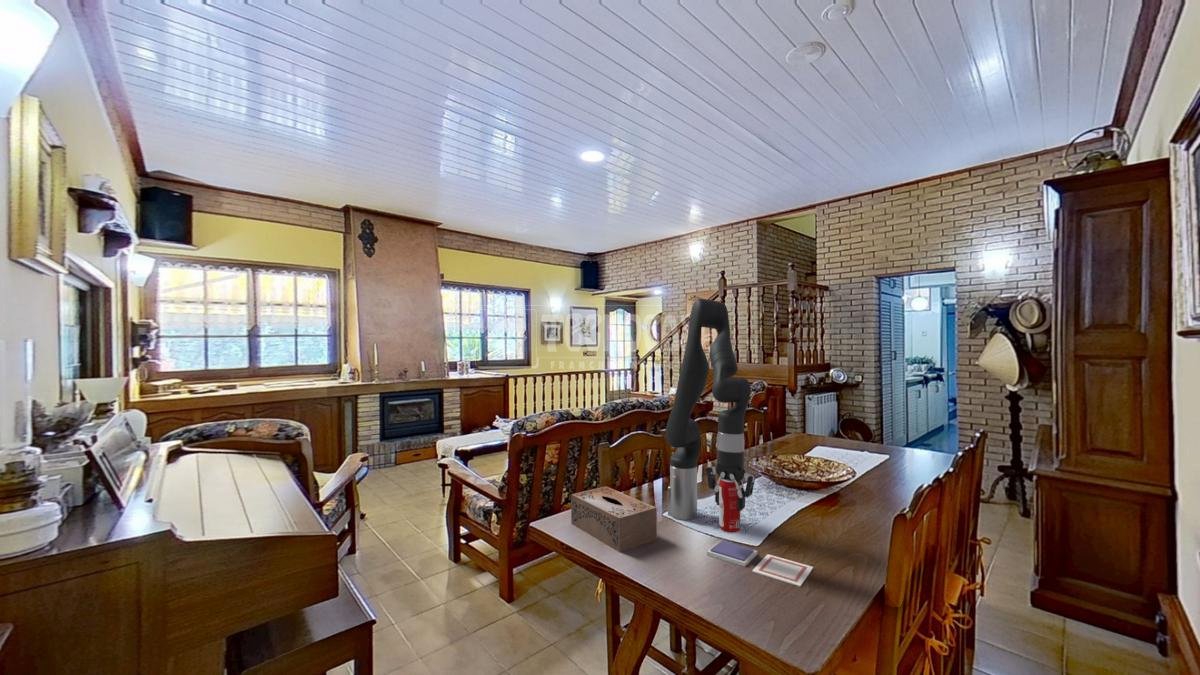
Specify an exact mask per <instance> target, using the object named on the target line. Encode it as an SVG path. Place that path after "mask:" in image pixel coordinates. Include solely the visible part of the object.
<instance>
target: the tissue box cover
mask: <svg viewBox="0 0 1200 675" xmlns="http://www.w3.org/2000/svg"><path fill="white" fill-rule="evenodd" d="M570 507H571V508H570V511H571V512H570V518H571V520H570V524H571V525H573V526H575V527H576V528H577V529H579V530H581V531H583V532H584V533H586V534H587V535H590V536H592V538H595V539H597V540H598V541H600V542H601V543H603V544H604V545H607V546H608V547H609V548H611V549H613V550H615V551H617V553H622V552H625V551H627V550H631V549H633V548H636V547H639V546H643V545H645V544H648V543H650V542H654V541H657V537H658V536H657V535H658V534H657V532H658V531H657V528H658V527H657V524H658V522H657V517H658V516H657V515H658V514H657V507H656V506H654V505H651V504H649V503H646V502H644V501H641V499H640V500H639V499H637V498H634V497H632V496H630V495H628V494H625V493H623V492H621V491H619V490H616V489H614V488H612V487H610V486H606V485H605V486H600V487H598V488H597V487H596V488H593V489H588V490H584V491H579V492H575V493H572V494H570Z"/></svg>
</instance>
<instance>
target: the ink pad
mask: <svg viewBox="0 0 1200 675" xmlns="http://www.w3.org/2000/svg"><path fill="white" fill-rule="evenodd" d="M706 556H709V557H712V558H715V559H719V560H722V561H725V562H728V563H731V564H734V565H739V566H741V567H746V566H747V565H749V564H750V562H751V561H752V560H754V558H755V557H756V556H758V550H755V549H753V548H750V547H746V546H743V545H739V544H735V543H732V542H729V541H725V540H719V541H718V542H717V543H716V544H714V545H713V546H712V547H710V548H709V549H708V550H707V552H706Z"/></svg>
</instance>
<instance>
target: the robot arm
mask: <svg viewBox="0 0 1200 675" xmlns="http://www.w3.org/2000/svg"><path fill="white" fill-rule="evenodd" d="M689 316H690V317H689V323H688V329H687V338H686V339H687V340H686V344H685V350H684V354H683V357H682V358H683V359H682V361H681V366H680V372H679V376H678V383H677V387H676V389H675V390H676V391H675V395H674V399H673V404H672V408H671V411H670V414H669V417H668V420H667V423H666V427H665V439H666V441H667V443H668V444H669V446H670V447H673V448H676V450H675V451H674V452H673V454H671V456H670V458H669V473H670V474H669V478H670V480H669V486H668V487H667V515H668V516H669V515H670V516H671V517H672V518H673V519H677V520H683V521H684V520H685V521H688V520H694V519H696V518H698V460H699V458H700V453H701V452H700V449H701V447H700V446H701V431H700V428H699V424H698V422H696V421H695V420H694V419H693V418H691V414H692V412H693V410H694V407H695V405H696V403H697V402H698V400H699V399H700V397H701V396H702V394H703V392H704V390H705V388H706V386H707V381H708V377H709V372H710V364H709V361H708V358H707V356H706V353H705V350H704V348H703V345H702V338H701V337H702V336H701V334H702V328H705V329H713V330H714V329H715V330H716V333H717V335H716V337H715V339H714V340H713V342H712V344H711V346H710V349H709V358H710V362H711V367H712V371H713V380H712V389H711V390H712V391H711V393H712V396H713V399H714V400H715V401H717V402H719V403H734V404H733V406H732V407H731V408H728V409H725V410H721V411H719V413H718V416H717V418H718V419H717V437H716V466H713V465H710V466H708V467H706V469H705V470H706V476H707V483H708V488H709V489H711V490H714V494H715V495H714V502H715V503H716V505H717V506H719V481H720V478H721V479H729V480H732V481H733V482H735V484H736V489H737V490H738V491H737V494H738V496H739V497H738V511H740V512H741V511H743V510H744V509H745V508H746V498H749V497H750V496H752V495H753V491H754V487H755V480H756V475H755V474H749V473H747V472H746V470H745V435H744V434H745V433H744V432H745V430H744V429H745V416H746V411H747V407H748V404H749V401H750V399H751V395H752V387H751V383H750V381H749V380H748V379H747V378H745V377H737V376H736V377H734V376H735V375H736V374H737V373H738V371H739V370H738V368H739V367H738V364H737V360H736V357H735V354H734V349H733V346H732V341H731V340H732V338H731V328H730V318H729V312H728V308H727V306H726V304H725V303H724V302H722V301H719V300H713V299H706V298H699V297H698V298H696V299H695V300H694V302H693V304H692V307H691V310H690V315H689ZM716 474H717V475H718V477H719V478H718V479H717V481H716ZM744 478H745V482H746V484H745V485H744V483H743V479H744ZM739 482H740V486H739V485H738V483H739ZM744 487H745V488H744Z"/></svg>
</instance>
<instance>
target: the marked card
mask: <svg viewBox="0 0 1200 675" xmlns="http://www.w3.org/2000/svg"><path fill="white" fill-rule="evenodd" d="M813 569H814V566H812V565H811V566H810V565H808V564H804V563H800V562H797V561H794V560H790V559H786V558H782V557H779V556H776V555H772V554H769V553H767V554H766V555H765V556H764V557H763V558H762V559H761V561H759V563H758V564H757V565H756V566H755V567H754V568H753V569H752V570H751V572H752V573H755V574H757V575H761V576H763V577H768V578H770V579H774V580H777V581H781V582H784V583H787V584H790V585H793V586H795V587H800V588H801V587H802V585H803V584H804V582H805V581H806V579H807V578H808V577H809V575H810V574H811V572H812V571H813Z"/></svg>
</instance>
